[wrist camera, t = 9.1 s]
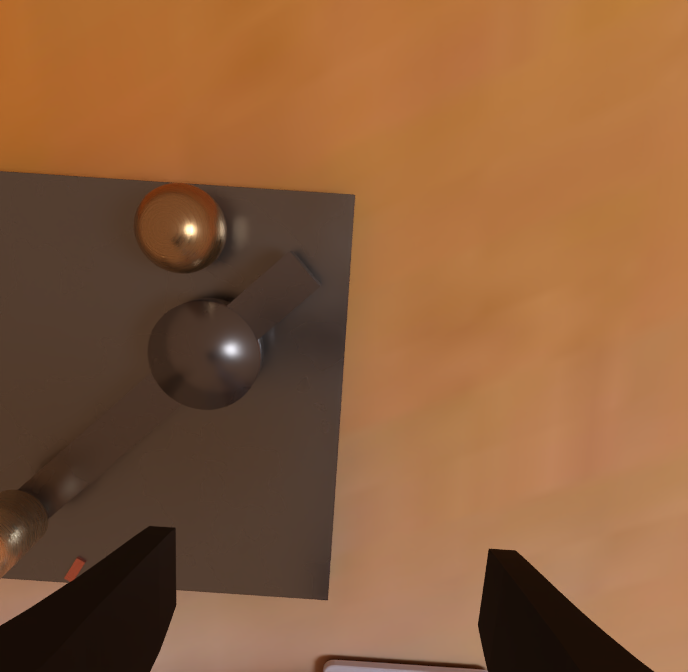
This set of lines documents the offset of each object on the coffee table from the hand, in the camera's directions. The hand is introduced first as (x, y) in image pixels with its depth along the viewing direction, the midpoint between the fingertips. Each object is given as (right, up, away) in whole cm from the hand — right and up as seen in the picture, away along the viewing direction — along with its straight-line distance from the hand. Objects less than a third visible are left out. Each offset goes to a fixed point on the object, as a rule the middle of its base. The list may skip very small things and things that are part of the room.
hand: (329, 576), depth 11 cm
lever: (-7, +3, +8) cm, 11 cm away
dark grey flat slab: (-8, +3, +10) cm, 13 cm away
